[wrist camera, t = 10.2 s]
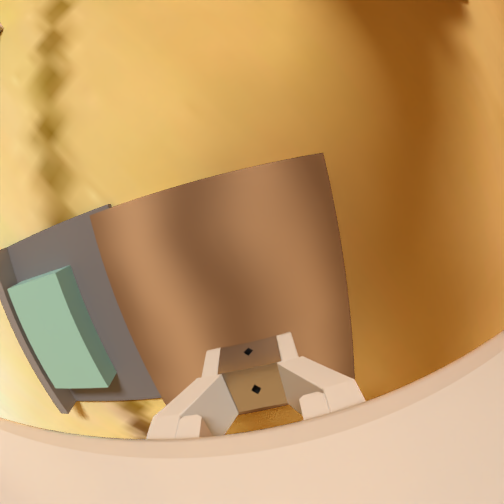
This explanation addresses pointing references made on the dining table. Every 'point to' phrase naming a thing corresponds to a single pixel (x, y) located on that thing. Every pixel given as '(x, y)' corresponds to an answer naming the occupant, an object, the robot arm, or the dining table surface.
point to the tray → (95, 299)
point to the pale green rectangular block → (62, 330)
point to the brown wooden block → (230, 269)
